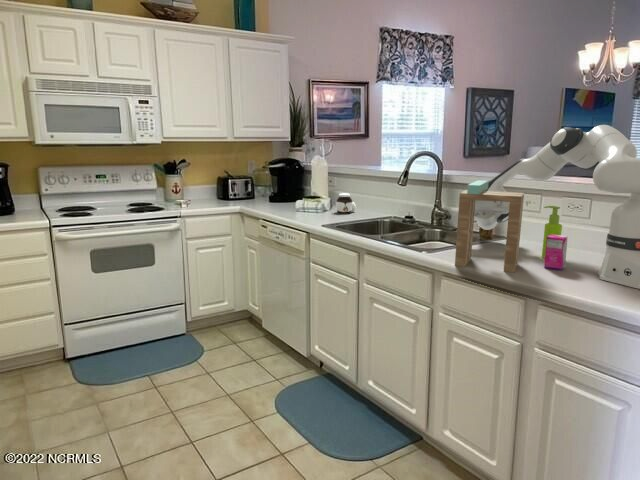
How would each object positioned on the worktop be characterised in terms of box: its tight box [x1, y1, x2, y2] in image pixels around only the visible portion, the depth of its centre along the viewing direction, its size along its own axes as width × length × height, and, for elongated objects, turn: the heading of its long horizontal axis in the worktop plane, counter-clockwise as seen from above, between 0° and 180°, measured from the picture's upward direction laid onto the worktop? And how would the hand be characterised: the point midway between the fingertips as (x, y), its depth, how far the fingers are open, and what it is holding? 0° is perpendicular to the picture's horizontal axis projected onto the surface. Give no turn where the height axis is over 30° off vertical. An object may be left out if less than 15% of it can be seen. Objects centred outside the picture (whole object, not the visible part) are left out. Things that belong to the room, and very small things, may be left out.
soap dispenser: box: [541, 205, 563, 260], centre depth 187 cm, size 6×7×20 cm
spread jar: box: [335, 192, 357, 215], centre depth 301 cm, size 12×11×12 cm
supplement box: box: [543, 235, 568, 271], centre depth 172 cm, size 6×6×12 cm
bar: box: [466, 179, 490, 194], centre depth 178 cm, size 24×4×3 cm, turn 154°
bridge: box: [454, 189, 525, 273], centre depth 174 cm, size 14×20×26 cm
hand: (483, 198), depth 196 cm, fingers open, 8 cm apart
